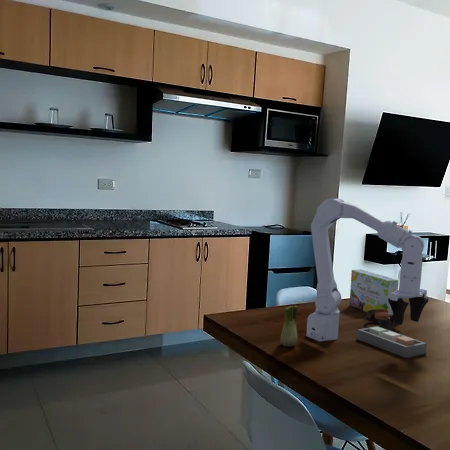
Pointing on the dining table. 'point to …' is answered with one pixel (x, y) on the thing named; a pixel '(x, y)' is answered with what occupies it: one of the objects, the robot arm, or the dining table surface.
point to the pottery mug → (381, 318)
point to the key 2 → (405, 340)
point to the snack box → (371, 290)
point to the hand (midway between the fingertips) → (406, 322)
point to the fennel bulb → (289, 327)
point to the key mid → (390, 335)
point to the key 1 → (377, 331)
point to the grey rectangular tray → (392, 344)
